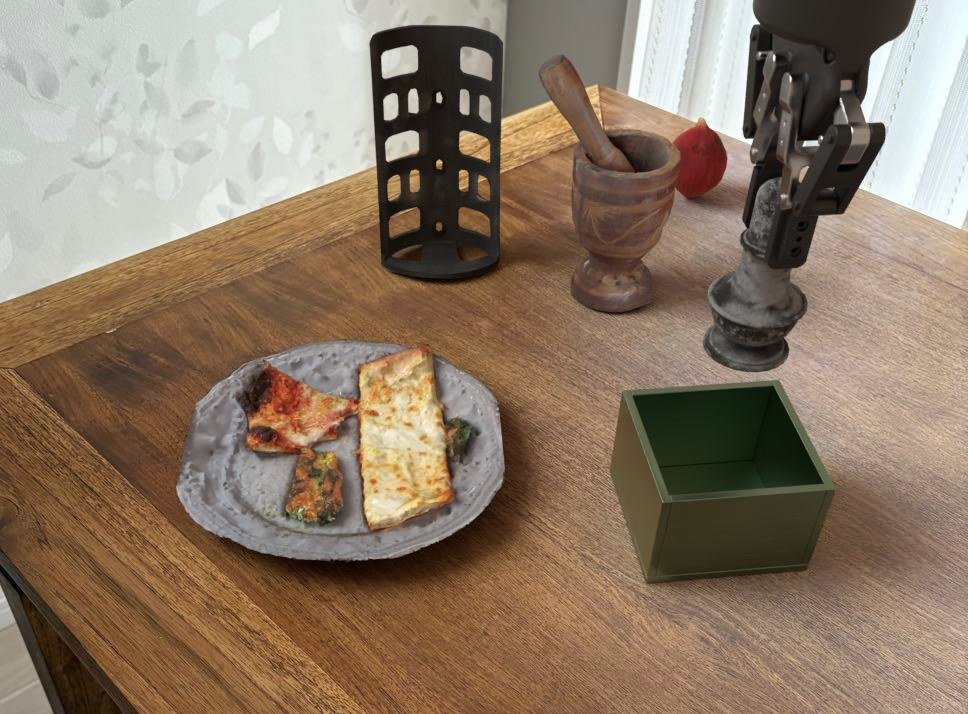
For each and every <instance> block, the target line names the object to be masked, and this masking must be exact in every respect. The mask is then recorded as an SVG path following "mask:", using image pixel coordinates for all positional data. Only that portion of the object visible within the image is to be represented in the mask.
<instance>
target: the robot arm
mask: <svg viewBox="0 0 968 714" xmlns="http://www.w3.org/2000/svg"><path fill="white" fill-rule="evenodd" d="M916 3H917V0H752V13H753V15H754V17H755V19H756V21H757V22H758V23H759V24H757V23H754V24H753V25H752V27H751V30H750V33H749V47H748V59H747V70H746V71H747V73H746V83H745V85H746V86H745V94H744V95H745V97H744V99H745V100H744V110H743V121H742V136H743V138H744V139H745V140H752V142H751V146H750V149H749V159H750V163H751V164H752V165H753V167H752V172H751V177H750V181H749V186H748V190H747V195H746V199H745V204H744V207H743V213H742V217H741V220H742V223H743V224H744V227H746V228H745V229H748V228H749V226H750V222H751V218H752V213H753V209H754V205H755V200H756V196H757V192H758V190H759V188H760V187H761V186H762V185H763V184H764V183H765V182H767V181H768V180H771V179H774V178H778V177H782V179H781V186H780V192H779V203H777V207H776V211H775V215H774V219H773V223H772V227H771V231H770V235H769V239H768V243H767V247H766V251H765V255H764V259H765V261H766V262H767V264H768V266H769V267H770V268H771V269H787V268H792V269H798V268H801V267H802V266H804V265H805V263H806V262H807V261H808V256H809V253H810V249H811V246H812V242H813V239H814V235H815V231H816V228H817V224H818V221H819V217H823V216H839V215H841V216H842V215H844V214H845V212H847V210H848V208H849V205H850V204H851V202H852V201H853V199H854V197H855V195H856V193H857V192H858V190H859V188H860V186H861V185H862V183H863V181H864V180H865V178H866V176H867V174H868V172H869V170H870V169H871V167H872V165H873V164H874V162H875V161H876V159H877V157H878V155H879V153H880V152H881V150H882V148H883V146H884V144H885V142H886V137H887V130H886V125H885V123H884V122H882V121H879V122H876V121H875V122H867V121H866V118H865V115H864V112H863V109H862V108H863V107H862V106H861V105H862V104H863V102H864V100H865V98H866V96H867V91H868V86H869V72H870V65H871V57H872V55H873V54H874V53H875V52H876V51H878V50H879V49H880V48H881V47H883V46H884V45H886V44H887V43H889V42H892V41H894V40H896V39H897V38H899V37H900V36H901V35H902V34H903V33H905V31H906V30H907V28H908V26H909V25H910V22H911V19H912V16H913V12H914V9H915V6H916ZM814 141H816V142H817V144H818V145H806V146H805V142H814ZM806 167H808V168H807V170H806V172H805V174H804V176H803V178H802V180H801V181H800V176H801V171H802V170H803V169H804V168H806ZM799 182H800V183H801V184H800V186H798V183H799Z"/></svg>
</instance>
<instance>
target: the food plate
mask: <svg viewBox="0 0 968 714" xmlns="http://www.w3.org/2000/svg"><path fill="white" fill-rule="evenodd" d="M433 351H434V350H433V348H432V347H431V345H430V344H429V343H420V344H419V345H417V346H415V347H411V348H410V347H408V346H406V345H402V344H400V343H393V342H380V341H375V340H373V341H372V340H371V341H366V340H356V339H346V338H339V339H338V338H337V339H332V340H320V341H311V342H306V343H301V344H298V345H294V346H291V347H288V348H285V349H281V350H279V351H275V352H272V353H268V354H266V355H262V356H258V357H255V358H253V359H251V360H247V361H245V362H243V363H242V364H241V365H239V366H238V367H236V368H235V369H234V370H232V371H231V373H229V374H227V377H226V378H224V379H223V380H221V379H220V381H217V382H216V383H215V384H214V385H213V386H211V388H210V389H209V390H208V391H207V392H206V393H205V395H203V397H201V398H200V400H198V402H196V403H195V405H194V406H193V409H192V410H193V411H192V414H191V416H190V421H189V427H188V430H187V434H186V439H185V443H184V448H183V454H182V456H181V460H180V468H179V472H181V473H180V474H179V475H178V478H177V483H176V485H175V486H176V495H177V496H178V498H179V501H180V504H181V505H182V506H183V507H184V510H185V512H186V513H187V514H188V515H189V516H190V518H191V519H193V521H194V522H195V523H196V524H198V525H200V526H201V527H202V528H203V529H204V530H205V531H208V532H211V533H213V535H216V536H219V538H228V539H230V540H231V542H232V541H233V542H235V543H237V544H240V545H241V546H243V547H245V548H247V549H248V550H253V551H256V552H259V553H261V554H268V556H271V555H273V556H275V557H283V558H287V559H291V560H292V559H294V560H300V561H307V560H309V561H311V560H312V561H315V560H316V561H318V560H319V561H326V562H330V563H332V560H333V561H337V560H338V561H340V562H341V561H345V563H348V562H350V561H352V562H355V561H356V560H357V561H368V560H369V559H371V560H377V559H378V560H379V559H380V560H383V559H395V558H400V557H404V556H406V555H409V554H412V553H414V552H417V551H420V550H421V548H426V547H429V546H430V545H431V544H433V545H435V544H436V542H437V543H439V541H442V540H444V539H446V538H447V537H450V536H452V535H454V534H455V533H456V532H459V531H460V530H461V529H463V528H465V527H466V525H469V524H471V523H472V522H473V521H474V520H475V519H476V518H477V517H478V516H480V514H482V513H483V511H486V509H485V508H486V507H487V506H489V505H490V503H491V501H493V498H494V497H495V495H496V494H497V492H498V491H499V490H500V489H501V488H502V486H503V484H504V483H505V482H506V479H505V472H506V468H505V465H504V463H505V455H504V447H503V446H504V445H503V432H502V425H501V421H500V418H501V415H500V413H499V411H500V408H499V405H498V404H499V400H497V398H496V396H495V394H494V393H493V392H492V390H491V389H489V387H488V386H487V385H486V384H485V383H483V382H482V381H481V380H479V379H478V378H477V377H476V376H474V375H473V374H471V373H470V372H467V371H465V370H464V369H462V368H459V367H458V366H456V365H455V364H454V363H451V362H450V361H449V360H447V358H446V357H445V356H443V355H437V354H436V353H433Z"/></svg>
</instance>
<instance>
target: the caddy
mask: <svg viewBox="0 0 968 714" xmlns="http://www.w3.org/2000/svg"><path fill="white" fill-rule="evenodd" d="M616 422H617V423H616V428H615V435H614V441H613V446H612V453H611V454H612V455H611V459H610V466H609V473H610V477H611V480H612V484H613V486H614V489H615V492H616V495H617V499H618V502H619V505H620V508H621V510H622V514H623V517H624V520H625V523H626V526H627V529H628V533H629V536H630V539H631V541H632V546H633V548H634V551H635V554H636V557H637V561H638V563H639V566H640V567H639V568H640V570H641V572H642V576H643V579H644V583H646V584H651V583H664V582H675V581H685V580H686V581H687V580H688V581H689V580H700V579H713V578H724V577H725V578H726V577H735V576H748V575H749V576H750V575H762V574H775V573H786V572H797V571H798V572H800V571H807V570H808V568H809V565H810V563H811V560H812V557H813V555H814V553H815V549H816V546H817V543H818V540H819V538H820V535H821V532H822V530H823V527H824V524H825V522H826V518H827V516H828V513H829V512H830V511H829V510H830V507H831V505H832V503H833V500H834V498H835V494H836V491H837V487H836V486H835V484H834V482H833V480H832V478H831V477H830V474H829V473H828V471H827V468H826V467H825V464H824V463H823V461H822V459H821V457H820V455H819V454H818V452H817V450H816V448H815V446H814V444H813V442H812V440H811V438H810V436H809V434H808V432H807V430H806V428H805V427H804V425H803V423H802V420H801V419H800V417H799V415H798V413H797V411H796V409H795V407H794V406H793V403H792V401H791V399H790V398H789V396H788V394H787V392H786V390H785V388H784V386H783V385H782V382H781V380H780V379H771V380H756V381H741V382H728V383H714V384H699V385H698V384H697V385H685V386H684V385H683V386H670V387H668V386H667V387H654V388H642V389H641V388H639V389H638V388H637V389H631V390H630V389H627V390H626V389H625V390H622V391H621V395H620V403H619V409H618V416H617V421H616Z"/></svg>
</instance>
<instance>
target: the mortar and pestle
mask: <svg viewBox="0 0 968 714" xmlns="http://www.w3.org/2000/svg"><path fill="white" fill-rule="evenodd" d="M537 74H538V77H539V81H540V83H541V85H542V87H543V88H544V91H545V92H546V94H547V96H548V97H549V99H550V101H551V103H553V105H554V106H555V108H556V109H557V110H558V112H559V113H560V114H561V116H562V117H563V118H564V119H565V120H566V122H567V123H568V124H569V126H570V127H571V129H572V131H573V132H574V135H575V137H576V138H577V139H578V141H577V142H576V143H575V145H574V149H573V154H572V155H573V156H572V159H573V160H572V175H571V177H572V183H571V193H570V195H571V196H570V197H571V199H570V200H571V201H570V203H571V204H570V205H571V216H572V217H571V218H572V221H573V225H574V231H575V235H576V237H577V241H578V242H579V244H580V245H581V246H582V247H583V248H584V249H585V250H586V251H587V252H588V256H586V257H585V258H583V259H582V260H581V262H579V263H578V264H576V267H575V268H574V271H573V273H572V276H571V278H570V279H571V280H570V285H569V290H570V291H569V292H570V294H571V296H572V297H573V298H574V299H575V300H576V301H577V302H579V303H580V304H582V305H584V306H585V307H588V308H590V309H592V310H593V309H594V310H597V311H600V312H607V313H608V312H609V313H623V312H628V311H632V310H635V309H639V308H641V307H644V306H646V305H649V304H650V303H652V298H653V296H654V290H655V287H654V281H653V277H652V273H651V270H650V268H649V267H648V266H646V264H644V261H643V260H642V258H644V257H645V256H646V255H647V254H648V253H650V252H651V250H653V249H654V248H655V247H656V246H657V244H658V243H659V242H660V240H661V238H662V236H663V229H664V227H665V226H666V224H667V223H668V221H669V218H670V216H671V213H672V210H673V209H672V208H673V205H674V199H675V194H676V188H675V186H676V183H677V176H678V170H679V164H680V159H681V153H680V151H678V149H677V146H676V145H675V144H674V143H673V142H671V140H669V139H668V138H667V137H665V136H663V135H660V134H657V133H655V132H650V131H645V130H641V129H636V128H613V129H612V128H611V129H606V130H604V128H603V126H602V124H601V122H600V119H599V117H598V116H597V114H596V112H595V109H594V107H593V104H592V101H591V99H590V96H589V94H588V92H587V90H586V88H585V85H584V83H583V81H582V79H581V77H580V75H579V73H578V71H577V69H576V68H575V66H574V65H573V63H572V61H571V60H570V59H569V58H567V57H566V55H564V54H561V53H560V54H556V55H554V56H552V57H551V58H549V59H547V60H546V61H544V62H543V63H542V65H541V66H540V68H539V69H538V72H537Z"/></svg>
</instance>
